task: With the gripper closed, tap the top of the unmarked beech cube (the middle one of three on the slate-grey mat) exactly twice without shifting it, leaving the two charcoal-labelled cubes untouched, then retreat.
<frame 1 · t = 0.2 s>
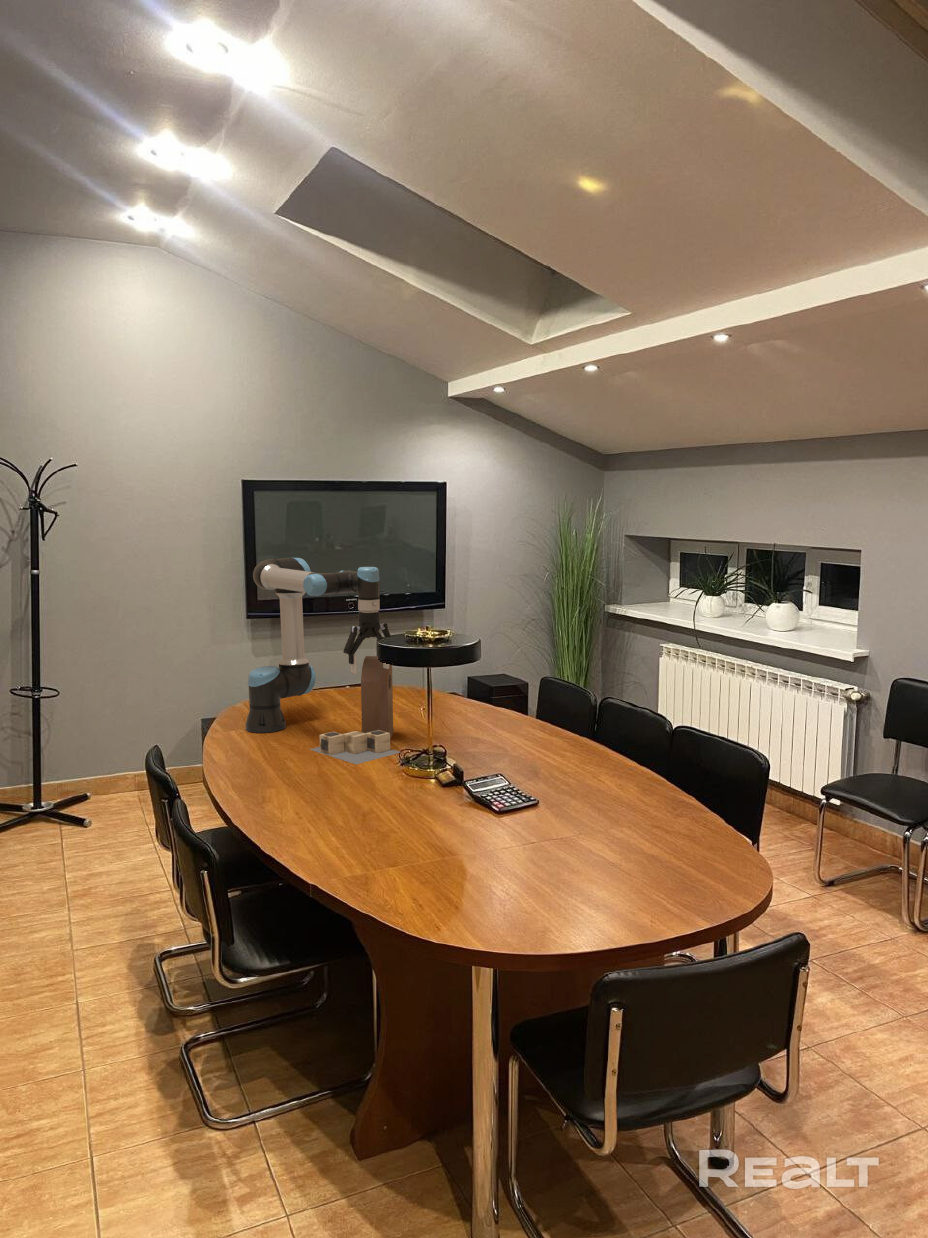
hand: (370, 670, 329), 27 cm above the table, fingers open, 13 cm apart
decorative block: (377, 739, 341), on the table
marked block A: (332, 751, 323), point 1 cm above the table, touching mat
marked block B: (378, 749, 325), point 1 cm above the table, touching mat
mat: (355, 752, 324), on the table
plain block: (355, 750, 324), point 1 cm above the table, touching mat
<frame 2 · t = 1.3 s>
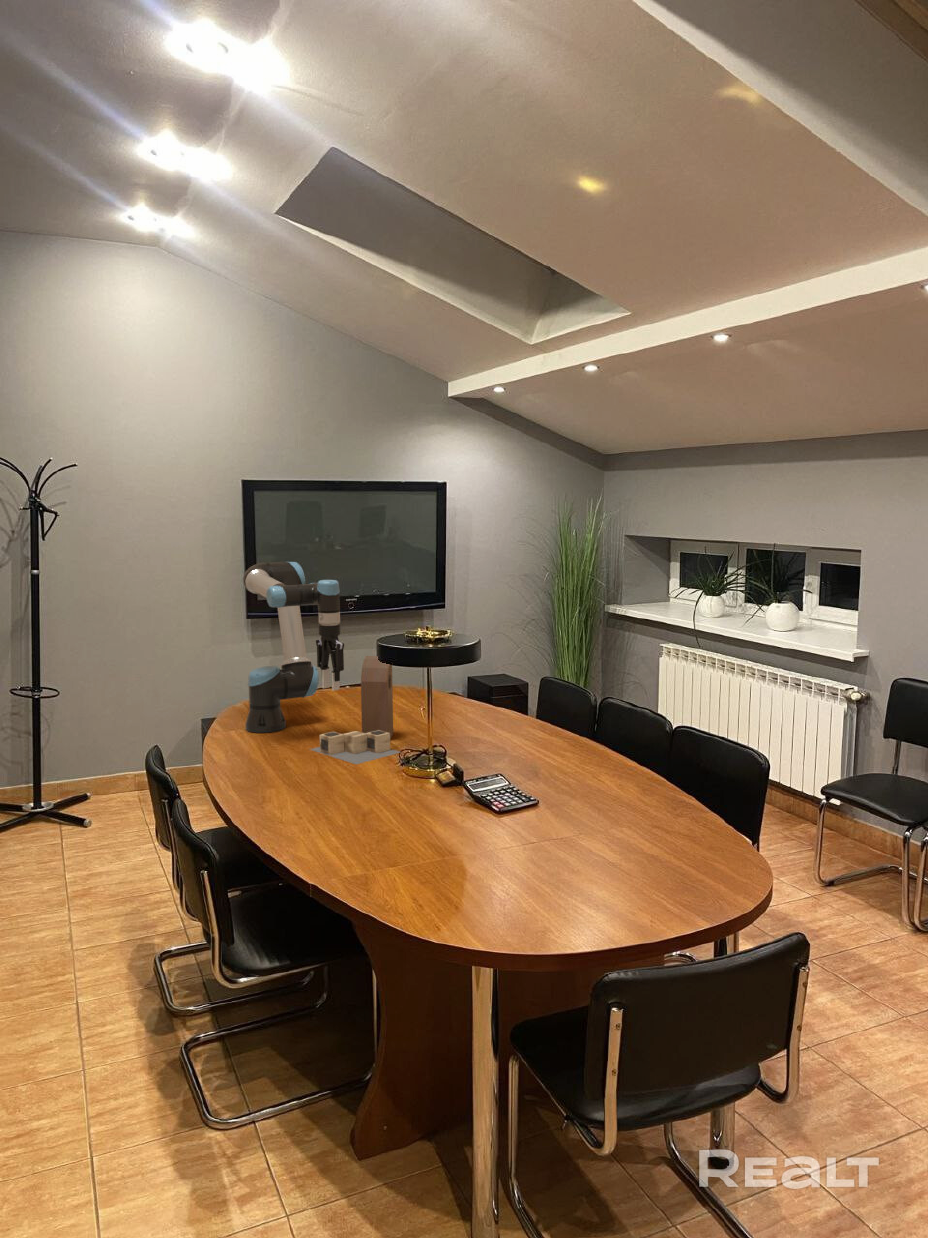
hand: (331, 688, 330), 21 cm above the table, fingers open, 5 cm apart
nothing on the table moved.
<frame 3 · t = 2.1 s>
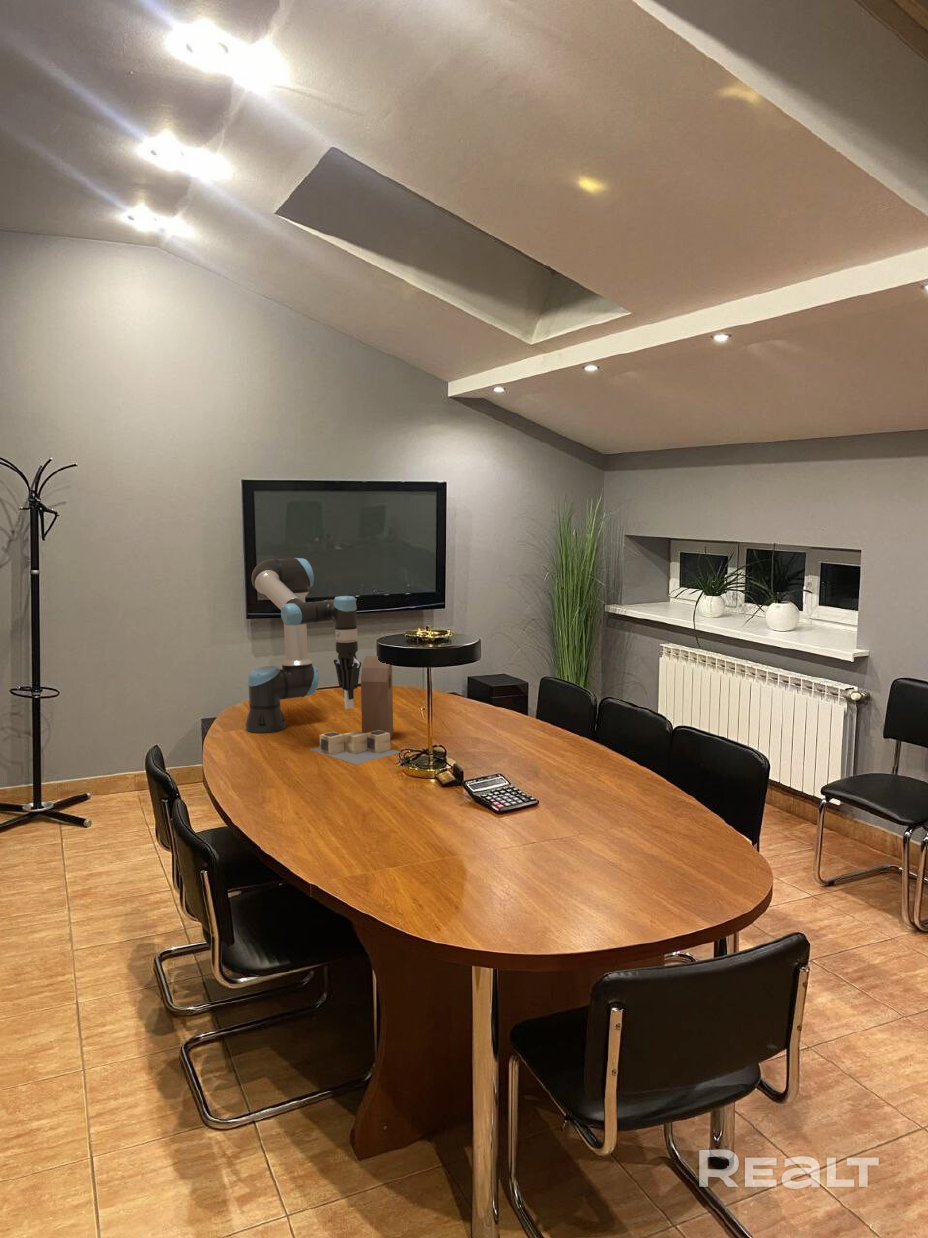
hand: (349, 708, 323), 15 cm above the table, fingers closed
nothing on the table moved.
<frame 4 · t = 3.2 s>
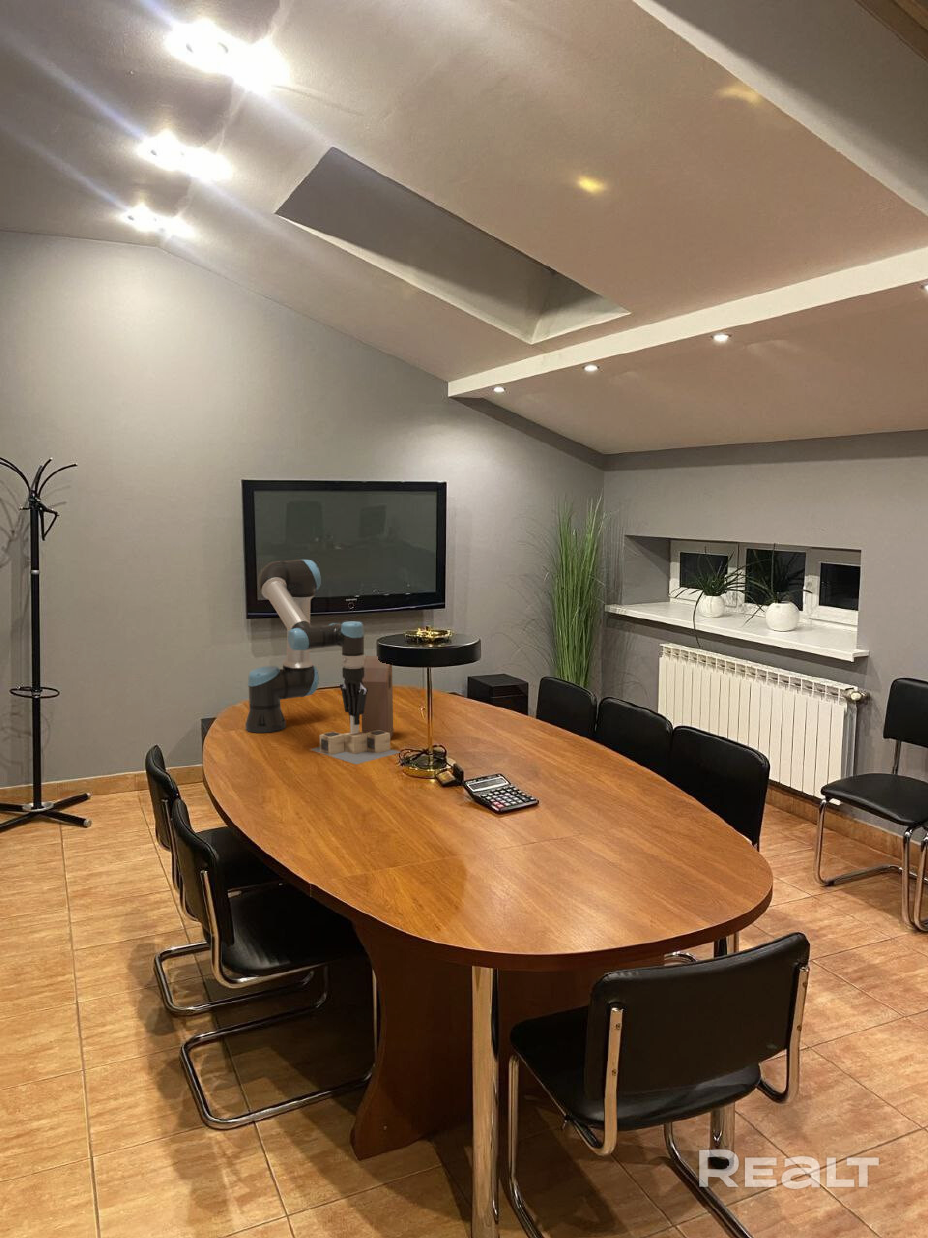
hand: (354, 733, 323), 7 cm above the table, fingers closed
nothing on the table moved.
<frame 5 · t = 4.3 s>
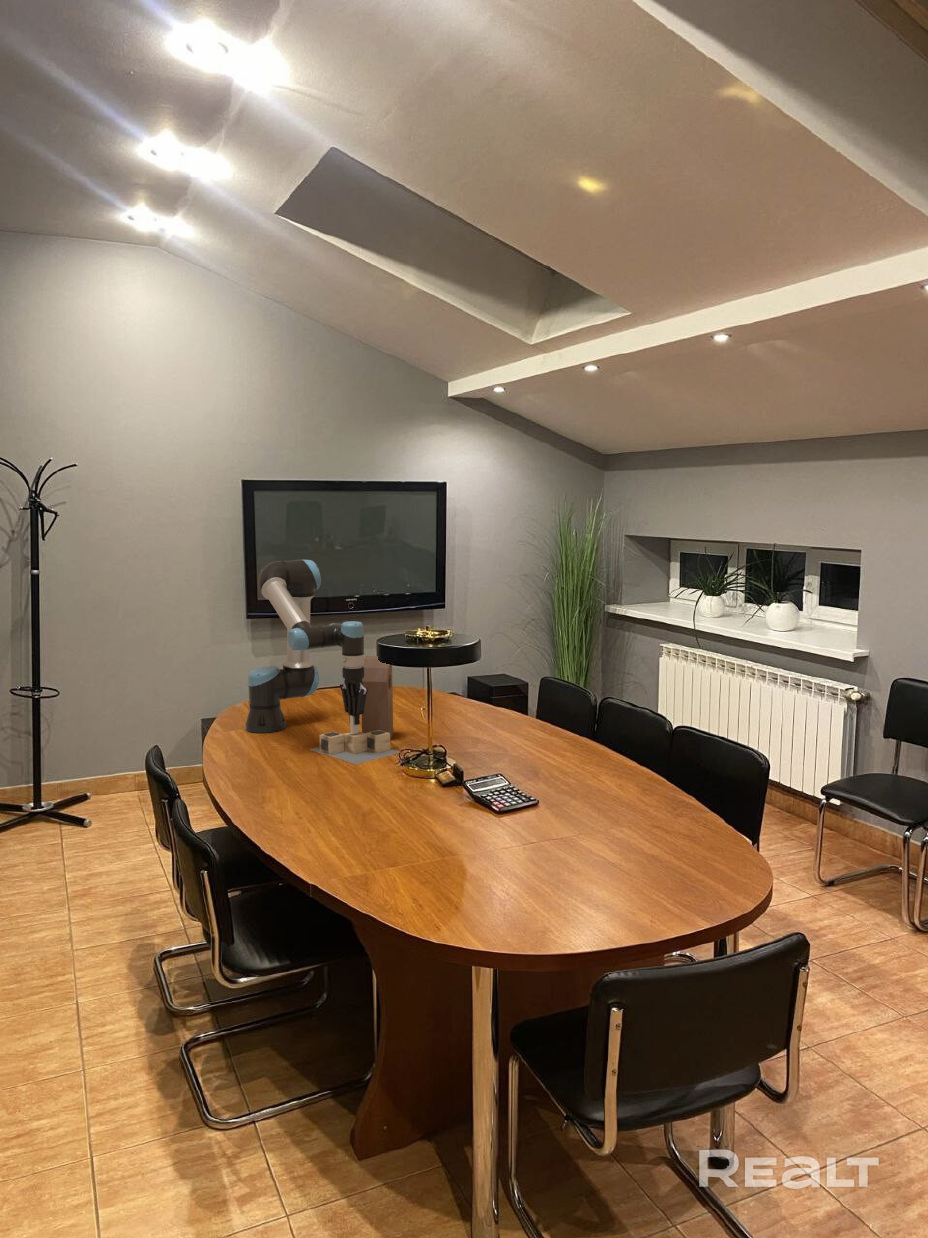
hand: (354, 733, 323), 7 cm above the table, fingers closed
plain block: (355, 750, 324), point 1 cm above the table, touching gripper, mat
everything else where it was.
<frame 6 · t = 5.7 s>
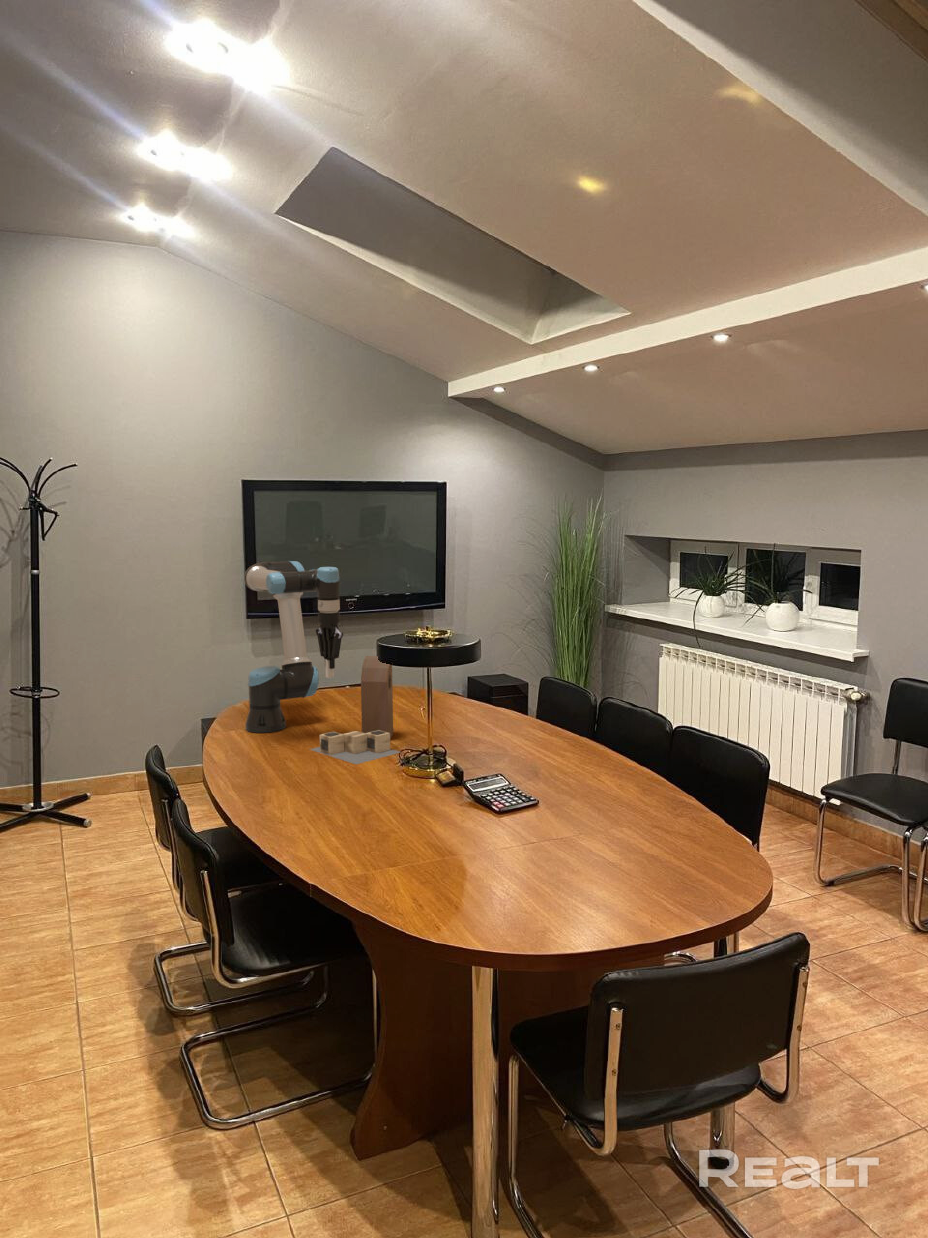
hand: (330, 677, 329), 25 cm above the table, fingers closed
plain block: (355, 750, 324), point 1 cm above the table, touching mat
everything else where it was.
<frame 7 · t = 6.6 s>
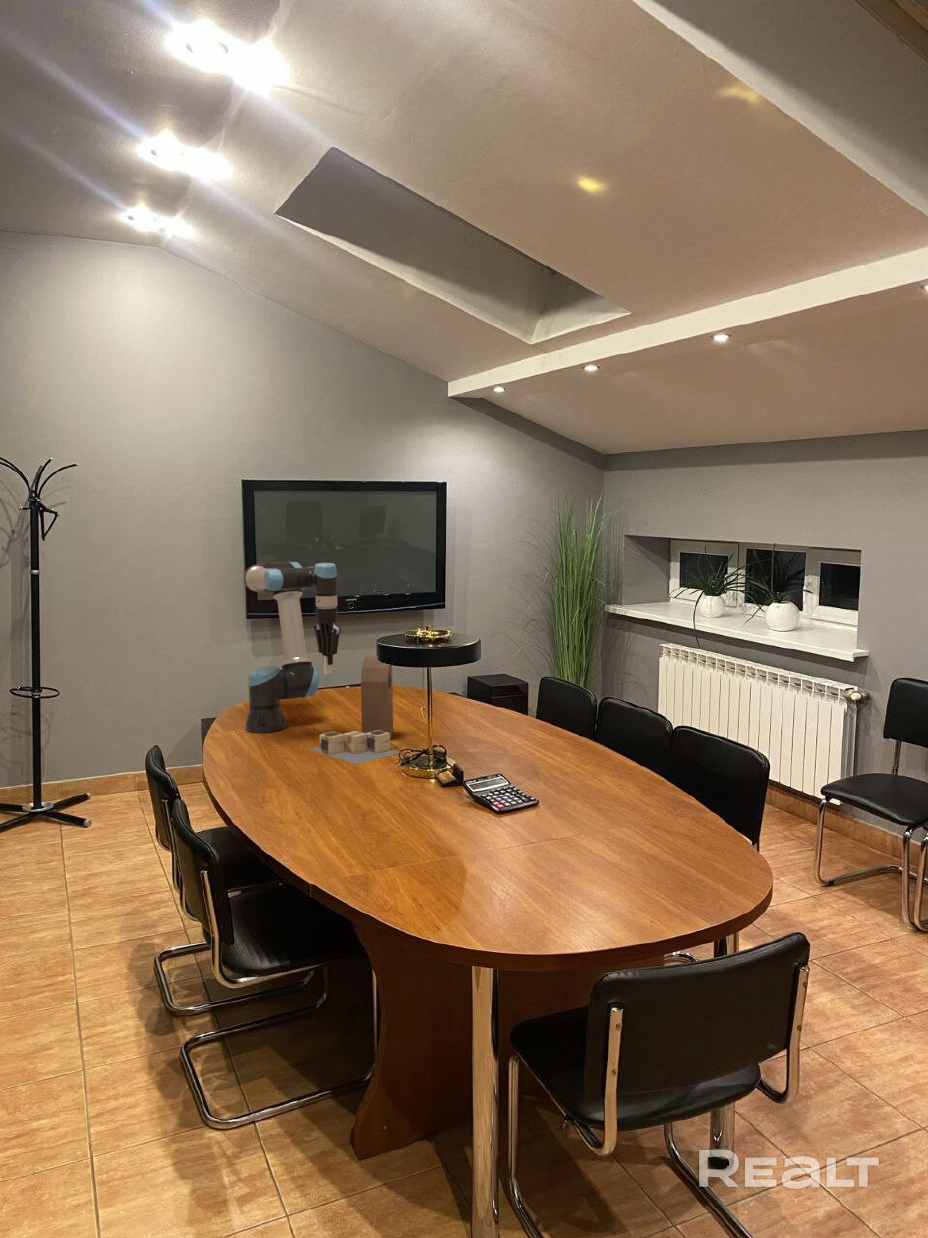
hand: (328, 673, 329), 26 cm above the table, fingers closed
nothing on the table moved.
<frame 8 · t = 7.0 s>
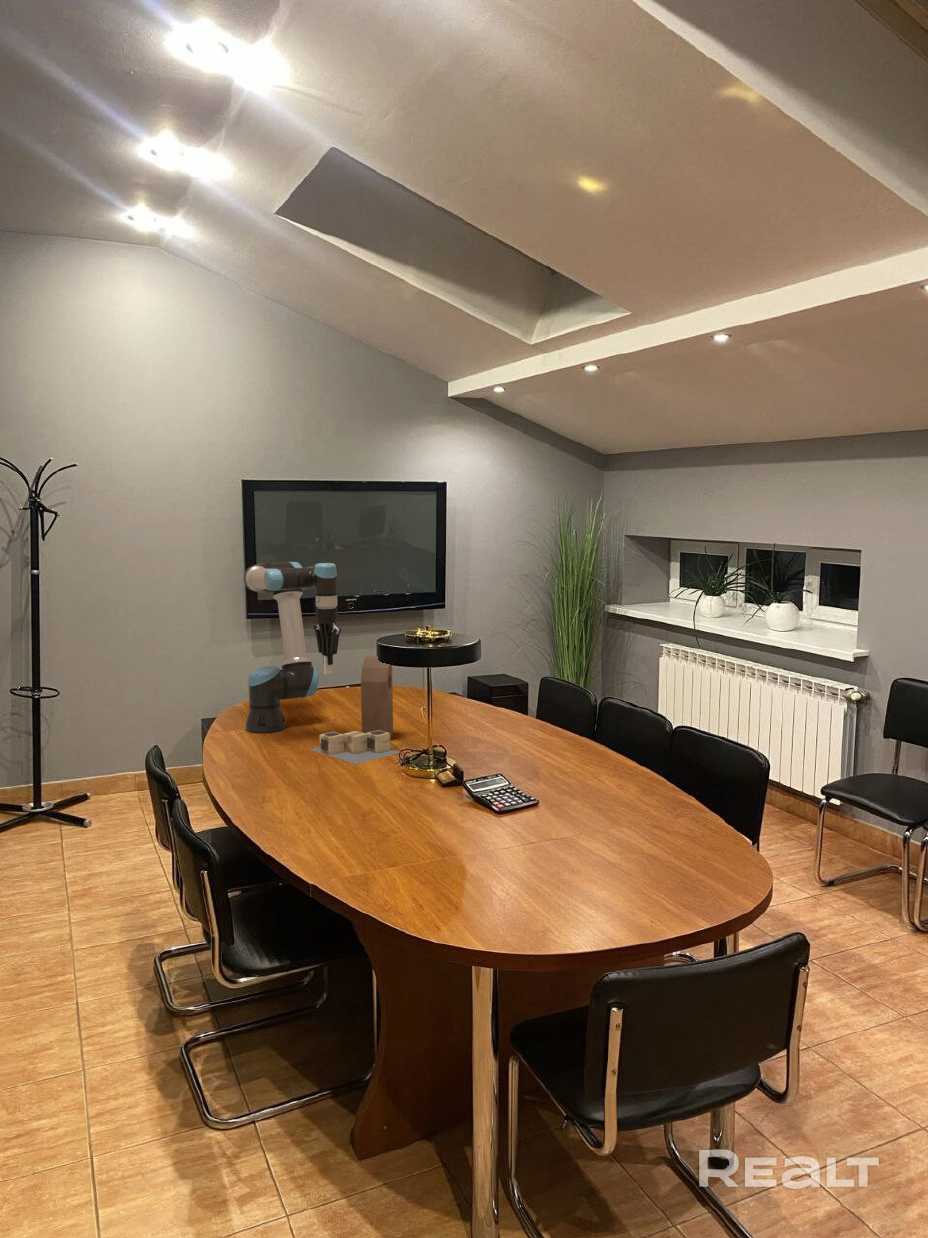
hand: (328, 673, 329), 26 cm above the table, fingers closed
nothing on the table moved.
at the end: plain block moved 0.0 cm from its start; plain block tilted 0°; marked block B moved 0.0 cm from its start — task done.
